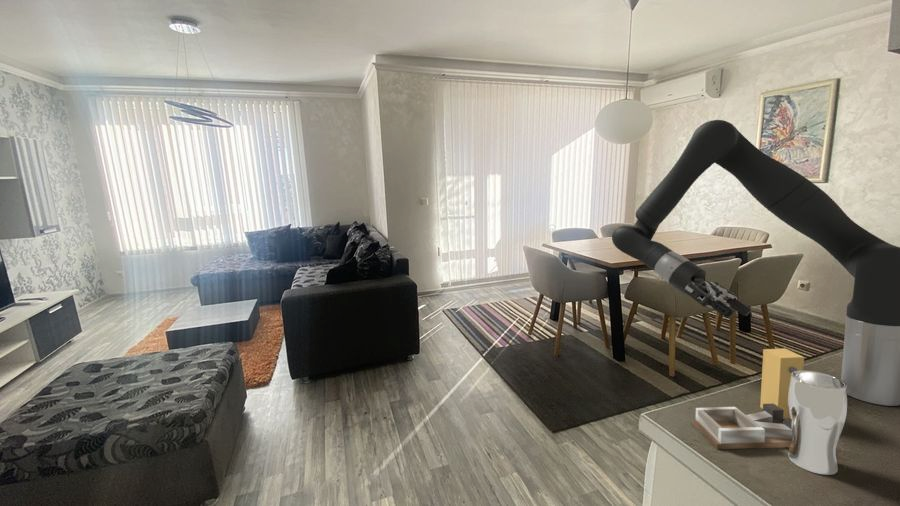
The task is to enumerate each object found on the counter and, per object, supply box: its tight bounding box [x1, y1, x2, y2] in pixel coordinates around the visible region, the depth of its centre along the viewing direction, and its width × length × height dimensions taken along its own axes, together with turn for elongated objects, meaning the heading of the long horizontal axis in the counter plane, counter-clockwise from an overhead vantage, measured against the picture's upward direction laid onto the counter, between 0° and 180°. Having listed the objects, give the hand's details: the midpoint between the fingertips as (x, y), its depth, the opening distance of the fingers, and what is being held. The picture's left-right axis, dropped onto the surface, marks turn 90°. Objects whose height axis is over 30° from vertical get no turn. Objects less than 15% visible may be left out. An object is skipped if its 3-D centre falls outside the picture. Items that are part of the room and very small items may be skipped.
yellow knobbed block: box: [759, 348, 805, 420], centre depth 77 cm, size 4×6×13 cm
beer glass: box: [787, 369, 848, 476], centre depth 62 cm, size 7×7×15 cm
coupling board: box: [691, 403, 792, 450], centre depth 71 cm, size 16×8×4 cm, turn 88°
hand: (740, 314), depth 85 cm, fingers open, 8 cm apart
